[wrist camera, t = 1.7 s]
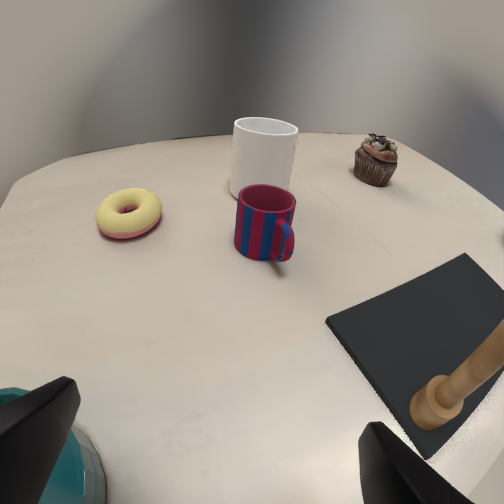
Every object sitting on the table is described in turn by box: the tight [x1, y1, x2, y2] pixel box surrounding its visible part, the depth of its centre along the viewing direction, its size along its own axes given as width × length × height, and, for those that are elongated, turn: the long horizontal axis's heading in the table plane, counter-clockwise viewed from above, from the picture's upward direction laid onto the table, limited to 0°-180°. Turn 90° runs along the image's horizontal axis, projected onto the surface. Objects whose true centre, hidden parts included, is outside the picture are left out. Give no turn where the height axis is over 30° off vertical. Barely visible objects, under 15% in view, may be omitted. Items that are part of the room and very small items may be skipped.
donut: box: [96, 188, 162, 239], centre depth 39 cm, size 10×5×9 cm
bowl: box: [0, 387, 105, 504], centre depth 12 cm, size 12×12×4 cm
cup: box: [234, 184, 296, 262], centre depth 35 cm, size 7×10×7 cm
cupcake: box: [354, 134, 398, 187], centre depth 57 cm, size 10×10×10 cm
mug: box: [230, 117, 298, 199], centre depth 46 cm, size 10×12×12 cm
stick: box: [410, 319, 504, 430], centre depth 17 cm, size 4×4×13 cm
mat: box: [325, 253, 504, 460], centre depth 30 cm, size 18×32×1 cm, turn 115°
